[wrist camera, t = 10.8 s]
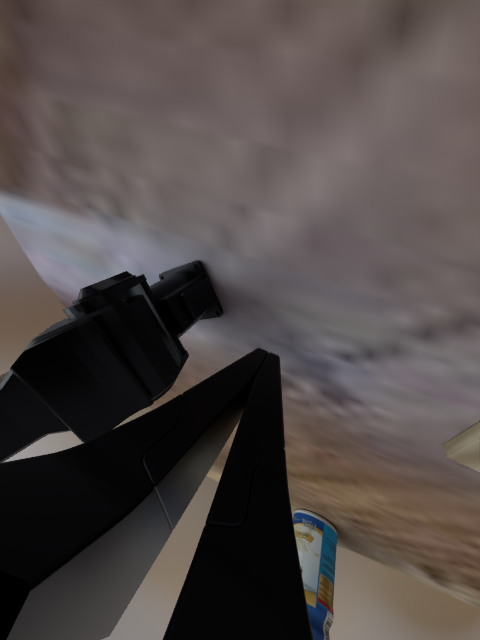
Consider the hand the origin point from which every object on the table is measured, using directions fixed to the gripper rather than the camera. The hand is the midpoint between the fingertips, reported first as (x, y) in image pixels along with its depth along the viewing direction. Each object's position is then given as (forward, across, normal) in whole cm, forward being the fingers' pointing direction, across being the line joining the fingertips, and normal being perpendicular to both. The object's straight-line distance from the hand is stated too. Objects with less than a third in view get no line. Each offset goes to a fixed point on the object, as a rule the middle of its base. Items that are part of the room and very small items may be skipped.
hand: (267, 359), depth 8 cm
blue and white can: (+12, -16, +50) cm, 54 cm away
